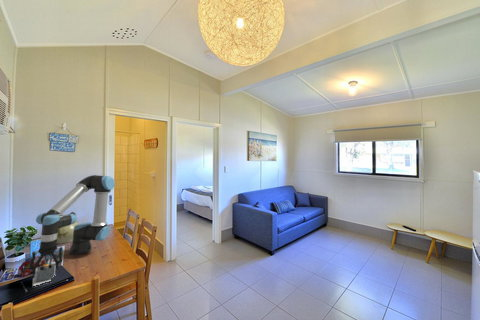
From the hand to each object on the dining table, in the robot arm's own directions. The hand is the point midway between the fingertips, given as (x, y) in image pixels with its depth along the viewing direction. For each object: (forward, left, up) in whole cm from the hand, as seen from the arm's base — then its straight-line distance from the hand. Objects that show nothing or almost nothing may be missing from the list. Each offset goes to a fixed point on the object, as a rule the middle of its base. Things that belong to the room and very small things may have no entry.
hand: (44, 276), depth 121 cm
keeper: (0, 0, -2) cm, 2 cm away
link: (0, 0, 0) cm, 0 cm away
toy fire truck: (-16, -5, -2) cm, 17 cm away
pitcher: (-71, +16, -2) cm, 73 cm away
